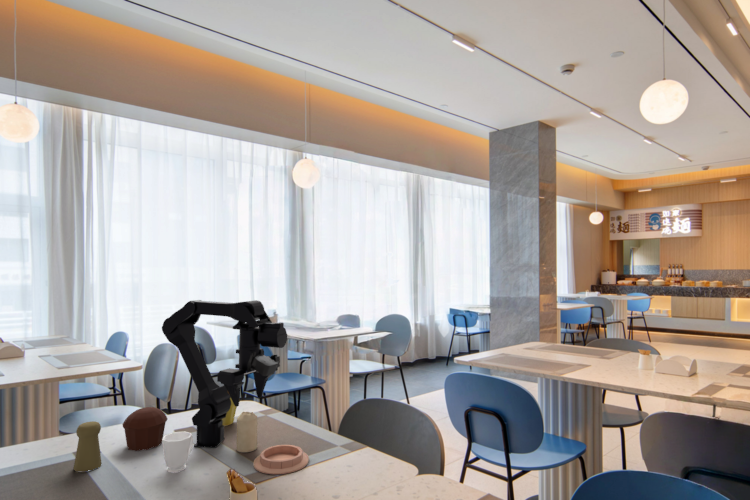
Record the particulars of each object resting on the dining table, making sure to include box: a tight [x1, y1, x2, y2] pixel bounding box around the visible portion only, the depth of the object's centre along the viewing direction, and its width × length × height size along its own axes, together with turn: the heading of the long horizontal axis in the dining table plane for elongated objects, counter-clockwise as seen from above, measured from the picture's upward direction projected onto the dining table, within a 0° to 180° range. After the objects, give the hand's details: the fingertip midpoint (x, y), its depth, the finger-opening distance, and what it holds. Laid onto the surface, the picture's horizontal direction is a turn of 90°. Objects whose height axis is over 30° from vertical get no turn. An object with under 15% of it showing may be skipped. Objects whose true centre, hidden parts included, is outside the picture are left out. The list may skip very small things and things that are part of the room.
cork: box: [73, 420, 103, 471], centre depth 113 cm, size 6×6×11 cm
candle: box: [236, 411, 258, 453], centre depth 125 cm, size 6×6×10 cm
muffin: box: [122, 406, 168, 452], centre depth 127 cm, size 12×11×10 cm
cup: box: [161, 430, 194, 474], centre depth 113 cm, size 7×10×8 cm
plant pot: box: [221, 398, 241, 427], centre depth 145 cm, size 10×10×10 cm
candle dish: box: [253, 444, 310, 475], centre depth 116 cm, size 14×14×2 cm
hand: (248, 401), depth 125 cm, fingers open, 9 cm apart
